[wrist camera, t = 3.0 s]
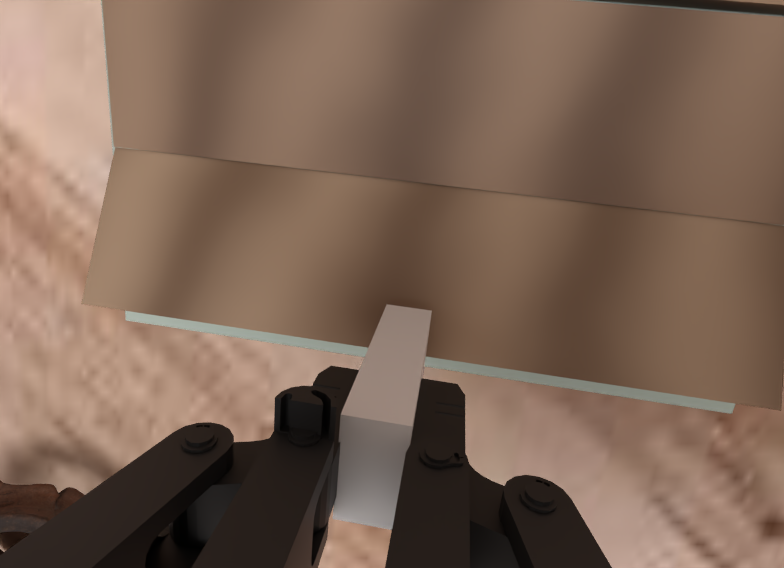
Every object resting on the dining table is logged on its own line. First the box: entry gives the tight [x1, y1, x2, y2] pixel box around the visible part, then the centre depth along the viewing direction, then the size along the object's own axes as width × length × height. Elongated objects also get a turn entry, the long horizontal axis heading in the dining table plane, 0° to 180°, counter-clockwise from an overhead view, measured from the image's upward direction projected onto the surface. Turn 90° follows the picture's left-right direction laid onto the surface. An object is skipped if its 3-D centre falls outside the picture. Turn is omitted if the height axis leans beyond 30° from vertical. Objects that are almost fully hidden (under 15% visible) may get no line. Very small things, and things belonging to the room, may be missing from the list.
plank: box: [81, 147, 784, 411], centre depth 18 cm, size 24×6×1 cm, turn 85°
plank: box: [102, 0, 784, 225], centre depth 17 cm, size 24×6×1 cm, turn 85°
